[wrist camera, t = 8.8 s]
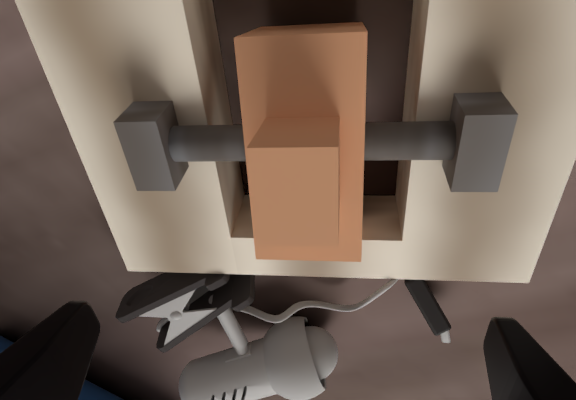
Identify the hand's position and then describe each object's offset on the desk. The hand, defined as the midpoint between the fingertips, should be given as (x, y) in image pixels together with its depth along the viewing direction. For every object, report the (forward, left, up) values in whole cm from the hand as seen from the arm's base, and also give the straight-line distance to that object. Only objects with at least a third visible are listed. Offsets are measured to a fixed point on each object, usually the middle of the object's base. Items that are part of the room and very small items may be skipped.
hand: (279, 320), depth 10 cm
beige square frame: (0, 0, -12) cm, 12 cm away
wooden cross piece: (0, +1, -11) cm, 11 cm away
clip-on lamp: (+2, +13, -13) cm, 19 cm away
